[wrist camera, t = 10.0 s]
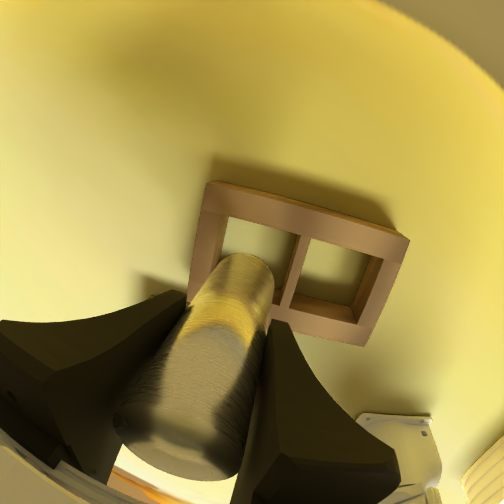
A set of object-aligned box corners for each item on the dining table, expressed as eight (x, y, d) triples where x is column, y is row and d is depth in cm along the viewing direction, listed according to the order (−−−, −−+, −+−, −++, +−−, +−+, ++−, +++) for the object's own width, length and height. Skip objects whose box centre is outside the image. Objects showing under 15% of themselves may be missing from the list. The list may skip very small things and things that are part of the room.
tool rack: (397, 230, 18) (410, 240, 16) (358, 328, 21) (364, 346, 18) (217, 180, 19) (206, 183, 17) (196, 286, 22) (185, 301, 19)
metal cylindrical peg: (282, 264, 14) (258, 438, 5) (264, 317, 15) (226, 490, 6) (220, 245, 14) (107, 383, 5) (207, 300, 15) (117, 451, 6)
